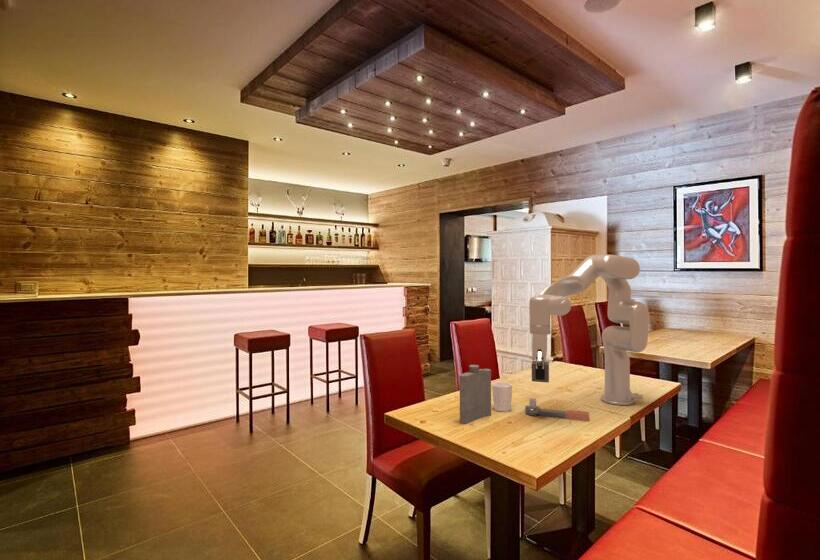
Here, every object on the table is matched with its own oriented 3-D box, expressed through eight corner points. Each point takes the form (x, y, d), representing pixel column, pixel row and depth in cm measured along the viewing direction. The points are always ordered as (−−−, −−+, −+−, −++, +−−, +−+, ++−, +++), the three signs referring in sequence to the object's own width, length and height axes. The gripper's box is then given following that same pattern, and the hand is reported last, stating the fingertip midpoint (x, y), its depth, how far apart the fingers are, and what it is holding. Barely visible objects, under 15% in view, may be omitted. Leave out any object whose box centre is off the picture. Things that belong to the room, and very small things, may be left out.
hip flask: (464, 424, 151) (463, 369, 151) (456, 421, 154) (455, 367, 154) (493, 414, 161) (492, 363, 161) (484, 412, 164) (484, 361, 164)
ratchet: (588, 417, 157) (588, 402, 157) (589, 422, 152) (589, 407, 152) (526, 411, 165) (525, 396, 165) (524, 415, 160) (524, 400, 160)
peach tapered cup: (488, 407, 170) (488, 382, 170) (505, 405, 173) (504, 381, 173) (499, 413, 163) (499, 387, 162) (516, 410, 165) (516, 385, 165)
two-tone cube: (549, 378, 159) (548, 361, 159) (548, 382, 153) (548, 364, 153) (532, 377, 161) (532, 360, 161) (531, 381, 155) (531, 364, 155)
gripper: (531, 326, 166) (531, 371, 167) (528, 332, 150) (528, 382, 150) (550, 326, 164) (551, 372, 164) (550, 333, 148) (550, 383, 148)
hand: (540, 376), depth 157 cm, fingers closed on two-tone cube, 6 cm apart
